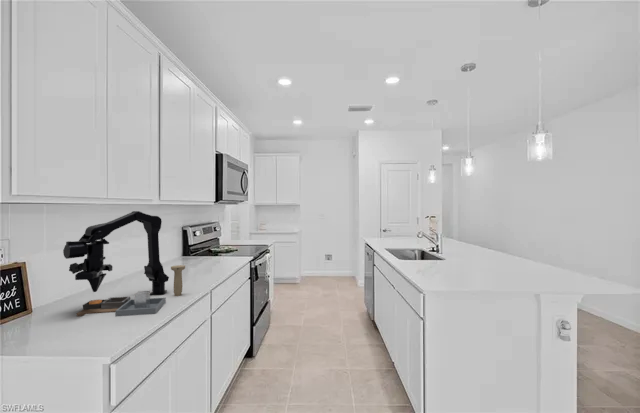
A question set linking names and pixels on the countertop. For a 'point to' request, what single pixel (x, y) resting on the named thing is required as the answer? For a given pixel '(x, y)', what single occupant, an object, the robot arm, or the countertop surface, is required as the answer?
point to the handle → (178, 279)
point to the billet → (142, 299)
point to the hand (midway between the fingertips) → (94, 291)
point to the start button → (95, 302)
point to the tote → (129, 308)
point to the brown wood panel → (104, 306)
